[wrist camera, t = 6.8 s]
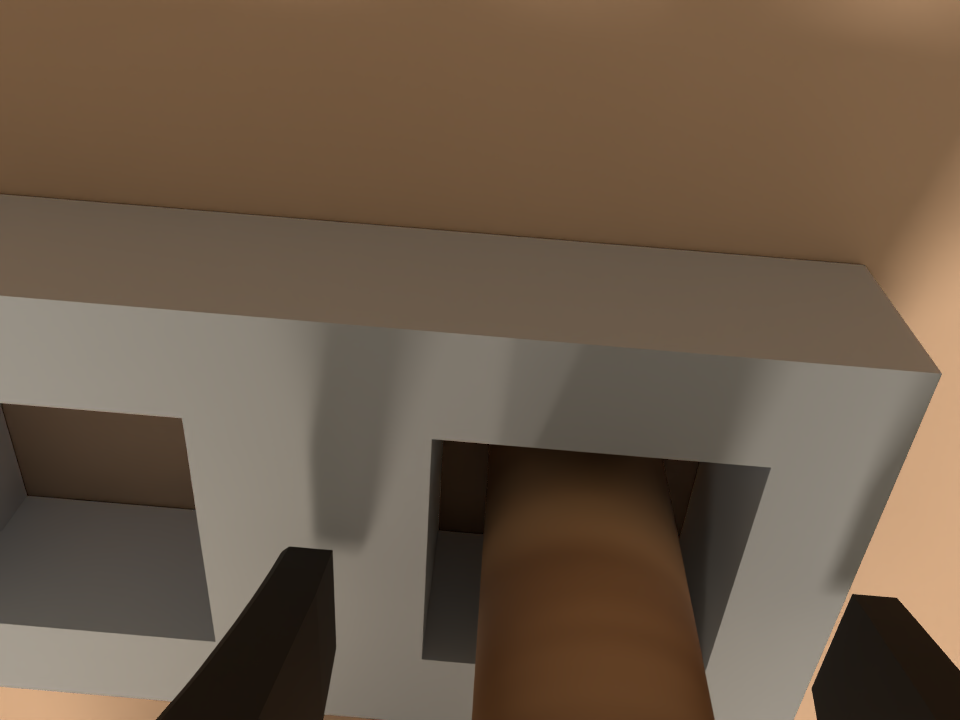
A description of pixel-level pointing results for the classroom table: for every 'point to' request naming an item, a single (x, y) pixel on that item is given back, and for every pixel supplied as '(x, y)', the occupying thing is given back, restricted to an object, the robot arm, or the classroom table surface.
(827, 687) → the robot arm
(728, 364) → the hole block
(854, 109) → the classroom table surface
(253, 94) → the classroom table surface
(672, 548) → the peg
